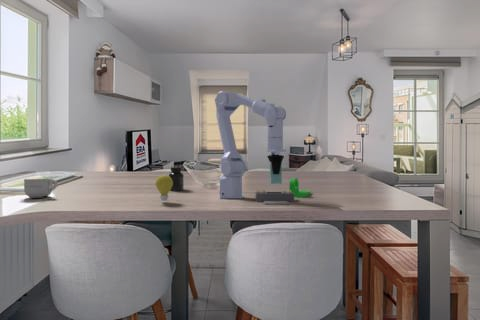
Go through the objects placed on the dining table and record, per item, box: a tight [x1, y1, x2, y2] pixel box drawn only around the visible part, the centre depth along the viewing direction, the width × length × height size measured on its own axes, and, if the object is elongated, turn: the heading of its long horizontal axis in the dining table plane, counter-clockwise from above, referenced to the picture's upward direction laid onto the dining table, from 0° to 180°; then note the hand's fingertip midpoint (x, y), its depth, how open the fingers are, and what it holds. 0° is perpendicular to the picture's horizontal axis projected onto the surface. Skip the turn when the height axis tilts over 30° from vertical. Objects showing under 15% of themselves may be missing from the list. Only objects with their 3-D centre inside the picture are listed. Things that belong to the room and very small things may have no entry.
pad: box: [263, 201, 291, 206], centre depth 145 cm, size 9×8×1 cm
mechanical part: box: [289, 177, 311, 199], centre depth 170 cm, size 12×6×8 cm, turn 151°
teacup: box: [23, 178, 58, 198], centre depth 165 cm, size 14×11×8 cm
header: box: [254, 189, 295, 203], centre depth 154 cm, size 14×8×4 cm, turn 90°
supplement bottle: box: [168, 166, 185, 192], centre depth 184 cm, size 7×7×12 cm
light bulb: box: [155, 174, 173, 202], centre depth 154 cm, size 7×7×10 cm
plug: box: [268, 161, 283, 185], centre depth 149 cm, size 4×4×8 cm
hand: (275, 174), depth 149 cm, fingers closed on plug, 4 cm apart
